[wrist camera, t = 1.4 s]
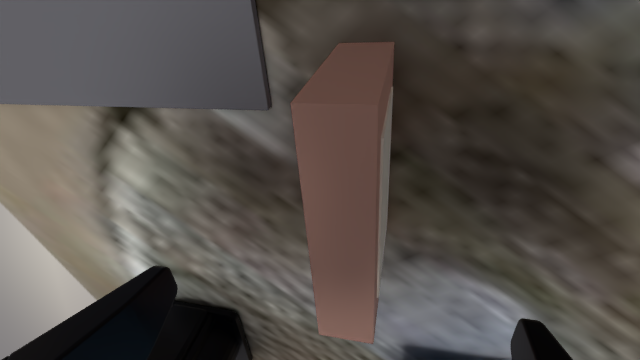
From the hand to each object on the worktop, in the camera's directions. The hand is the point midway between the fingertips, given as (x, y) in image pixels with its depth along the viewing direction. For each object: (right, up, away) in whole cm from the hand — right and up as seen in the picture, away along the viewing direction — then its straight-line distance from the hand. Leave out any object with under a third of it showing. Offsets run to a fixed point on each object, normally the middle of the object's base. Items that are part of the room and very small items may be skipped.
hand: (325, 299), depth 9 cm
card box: (+2, +4, +6) cm, 8 cm away
